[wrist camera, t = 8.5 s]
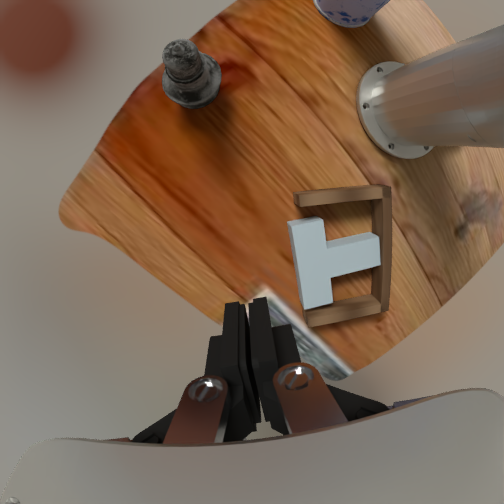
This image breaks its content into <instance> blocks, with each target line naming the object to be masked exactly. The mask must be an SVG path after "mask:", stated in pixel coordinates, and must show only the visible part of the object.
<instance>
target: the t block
mask: <svg viewBox="0 0 504 504" xmlns="http://www.w3.org/2000/svg"><path fill="white" fill-rule="evenodd" d="M287 225H288V230H289V236H290V242H291V248H292V253H293V259H294V265H295V271H296V278H297V284H298V290H299V297H300V301H301V303H302V305H303V308H304V310H305V309H310V308H314V307H318V306H322V305H326V304H329V303H333V298H332V288H331V278H332V277H336V276H340V275H344V274H348V273H352V272H356V271H360V270H363V269H367V268H371V267H375V266H379V265H381V263H380V245H379V237H378V236H377V235H375V234H373V233H371V232H367V233H362V234H358V235H353V236H349V237H344V238H340V239H335V240H331V241H326V237H325V230H324V223H323V220H322V219H321V218H319V217H318V216H313V217H308V218H303V219H298V220H293V221H289V222H287Z"/></svg>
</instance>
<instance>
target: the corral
mask: <svg viewBox="0 0 504 504" xmlns="http://www.w3.org/2000/svg"><path fill="white" fill-rule="evenodd" d="M293 196H294V203H295V204H296V205H298V206H300V207H304V206H313V205H321V204H330V203H339V202H349V201H359V200H369V199H371V209H372V233H373V234H375V235H377V236H378V237H379V245H380V263H381V265H379V266H375V267H372V289H371V294H369V295H364V296H360V297H355V298H350V299H345V300H339V301H334V302H333V303H329V304H326V305H322V306H318V307H314V308H310V309H305V310H304V308H303V316H304V318H305V321H306V323H307V325H308V327H314V326H320V325H325V324H330V323H335V322H340V321H344V320H349V319H354V318H358V317H363V316H367V315H371V314H376V313H380V312H384V311H388V310H389V298H390V284H391V265H392V197H391V187H390V186H385V185H380V184H377V185H364V186H352V187H340V188H330V189H320V190H310V191H301V192H293Z"/></svg>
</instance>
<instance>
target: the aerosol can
mask: <svg viewBox="0 0 504 504" xmlns="http://www.w3.org/2000/svg"><path fill="white" fill-rule="evenodd" d="M313 1H314V5H315V7H316V8H317V10H318V11H319V12H320V13H321V14H322V15H323V16H324V17H325V18H326V19H328V20H330V21H331V22H333V23H335V24H337V25H340V26H343V27H349V28H356V27H361V26H363V25H365V24H366V23H368V22H369V20H370V18H371V17H372V16H373V15H374V14H375V13H376V12H377V11H379V10H380V9H381V8H382V7H383V6H384V5H385V4H387V3H388V2H389V1H390V0H313Z"/></svg>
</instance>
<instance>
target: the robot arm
mask: <svg viewBox="0 0 504 504" xmlns="http://www.w3.org/2000/svg"><path fill="white" fill-rule="evenodd" d="M377 71H378V72H377ZM356 102H357V110H358V114H359V118H360V121H361V123H362V125H363V127H364V129H365V131H366V133H367V134H368V136H369V137H370V138H371V140H372V141H373V142H374V143H375V144H376V145H377V146H378V147H379V148H380V149H382V150H383V151H384V152H386V153H388V154H390V155H391V156H394V157H397V158H403V159H415V158H419V157H422V156H424V155H426V154H427V153H428V152H430V151H431V150H432V149H433V147H434V146H469V147H492V148H504V25H501V26H498V27H496V28H493V29H491V30H488V31H486V32H483V33H481V34H478V35H475V36H473V37H470V38H467V39H465V40H462V41H460V42H457V43H455V44H452V45H449V46H447V47H444V48H442V49H440V50H437V51H435V52H433V53H430V54H428V55H426V56H423V57H421V58H419V59H417V60H414V61H412V62H410V63H408V64H406V65H405V64H403V63H399V62H393V61H387V62H382V63H379V64H377V65H375V66H373V67H372V68H370V69H369V70H367V72H366V73H365V74H364V75H363V76H362V78H361V80H360V82H359V85H358V89H357V97H356ZM363 106H364V107H365V109H364V108H363ZM388 145H389V147H388ZM248 305H249V322H248V318H247V313H246V308H245V304H241V305H240V304H239V301H238V302H232V303H226V304H225V311H224V322H223V333H222V335H219V336H211V337H210V341H209V348H208V354H207V361H206V368H205V374H204V376H202V377H198V378H196V379H195V380H193V381H191V382H190V383H189V384H188V385H187V386H186V388H185V390H184V392H183V395H182V397H181V400H180V402H179V405H178V407H177V409H175V410H174V411H172V412H171V413H169V414H168V415H166V416H165V417H163V418H162V419H160V420H159V421H157V422H156V423H154V424H153V425H151V426H149V427H148V428H147V429H145V430H143V431H142V432H140V433H139V434H138V435H136V436H135V437H134V438H133V440H130V439H129V437H125V438H117V439H107V440H97V439H86V438H55V439H48V440H44V441H41V442H38V443H35V444H33V445H32V446H31V447H29V448H28V449H27V451H26V452H25V453H24V454H23V456H22V457H21V459H20V460H19V462H18V463H17V465H16V467H15V469H14V471H13V472H12V474H11V476H10V478H9V481H8V483H7V485H6V487H5V489H4V491H3V494H2V497H1V499H0V504H504V397H503V396H502V395H500V394H498V393H497V392H495V391H493V390H490V389H486V388H470V389H461V390H454V391H449V392H445V393H441V394H437V395H433V396H428V397H423V398H417V399H412V400H406V401H399V402H394V404H393V406H386V405H385V404H382V403H380V402H378V401H374V400H371V399H368V398H365V397H362V396H359V395H356V394H353V393H350V392H347V391H344V390H341V389H339V388H336V387H333V386H330V385H327V384H325V382H324V380H323V379H322V377H321V375H320V373H319V372H318V370H317V369H316V368H315V367H314V366H312V365H310V364H307V363H301V360H300V356H299V352H298V349H297V345H296V341H295V338H294V334H293V331H292V327H291V324H288V325H282V326H277V327H271V321H270V316H269V310H268V304H267V298H266V297H262V298H256V299H253V303H248ZM249 324H250V327H249ZM259 397H260V398H259ZM260 401H261V404H262V408H263V413H264V417H265V420H266V422H268V421H270V423H271V428H272V429H274V430H276V431H278V432H280V433H282V434H283V436H276V437H269V438H262V439H254V440H246V437H247V436H248V435H249V434H250V433H251V432H254V431H257V430H256V423H261V411H260Z"/></svg>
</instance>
